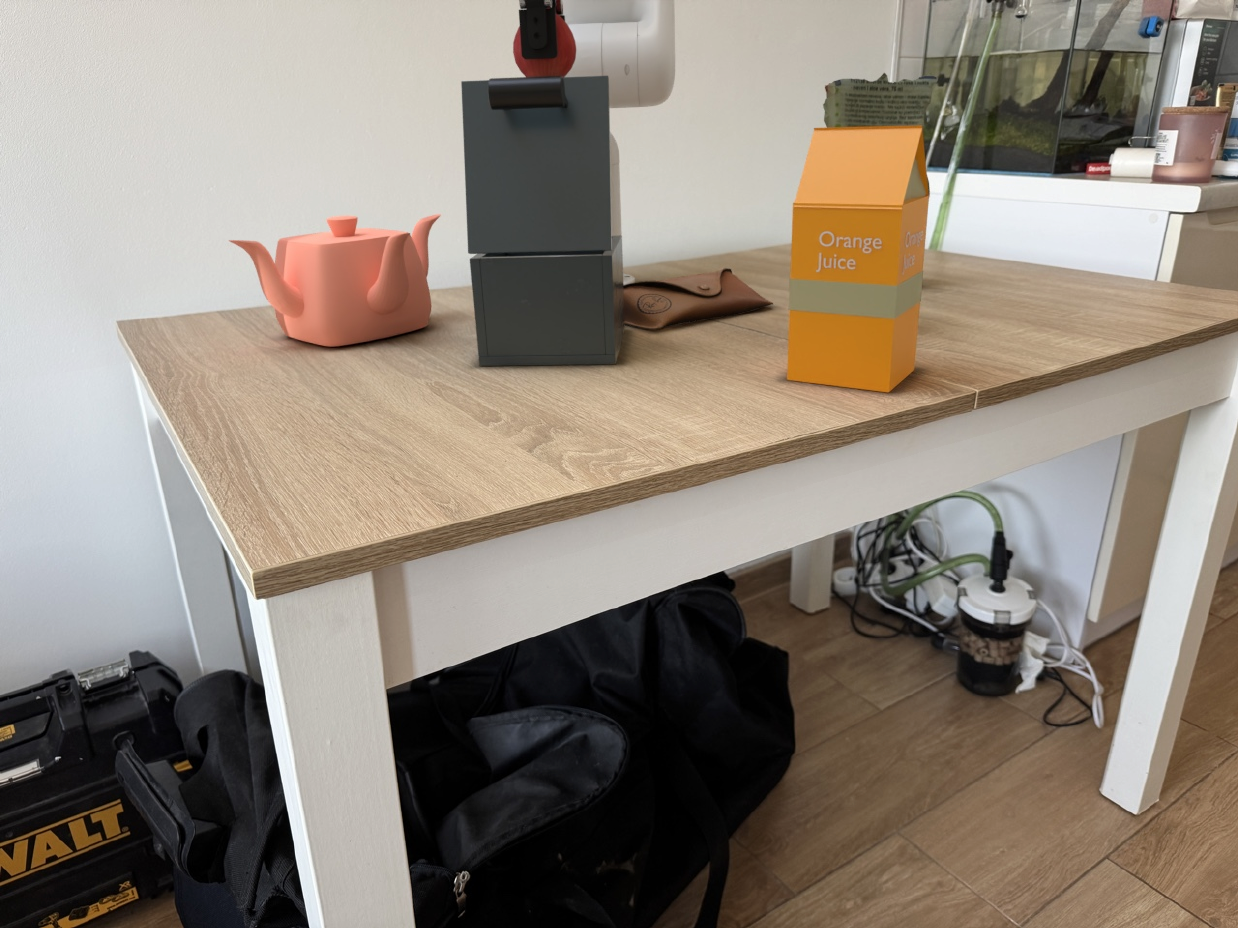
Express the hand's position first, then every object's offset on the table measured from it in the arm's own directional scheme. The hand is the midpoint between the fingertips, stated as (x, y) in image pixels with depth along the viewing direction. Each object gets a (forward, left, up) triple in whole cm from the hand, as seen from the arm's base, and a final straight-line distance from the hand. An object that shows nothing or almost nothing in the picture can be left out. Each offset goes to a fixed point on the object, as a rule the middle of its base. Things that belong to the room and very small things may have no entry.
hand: (545, 58), depth 85 cm
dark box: (+2, -3, -27) cm, 27 cm away
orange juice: (+30, +6, -27) cm, 41 cm away
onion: (0, 0, -3) cm, 3 cm away
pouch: (+10, +43, -27) cm, 52 cm away
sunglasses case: (+3, +17, -27) cm, 32 cm away
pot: (-20, -12, -27) cm, 35 cm away
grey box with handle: (+5, -6, -9) cm, 12 cm away
